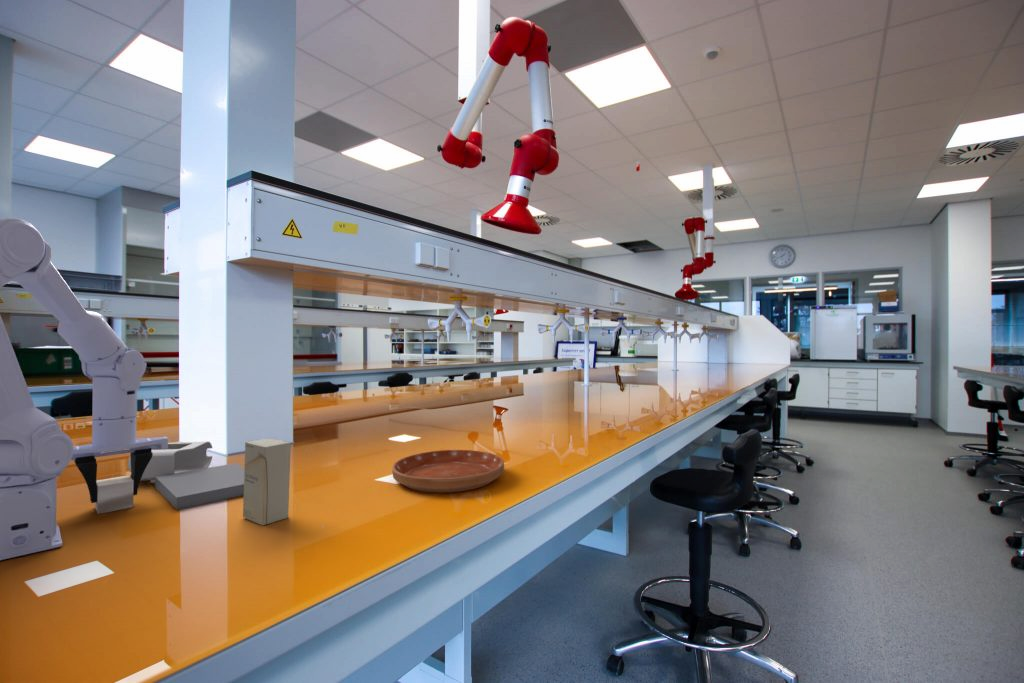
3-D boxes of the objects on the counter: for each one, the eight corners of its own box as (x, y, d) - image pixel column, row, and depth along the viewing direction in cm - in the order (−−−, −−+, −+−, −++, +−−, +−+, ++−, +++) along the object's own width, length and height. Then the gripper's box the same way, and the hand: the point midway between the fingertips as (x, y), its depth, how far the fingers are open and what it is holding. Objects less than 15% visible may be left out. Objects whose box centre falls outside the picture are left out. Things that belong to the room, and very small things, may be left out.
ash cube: (133, 507, 78) (133, 480, 78) (97, 514, 75) (98, 486, 75) (129, 500, 82) (129, 475, 82) (94, 507, 78) (95, 480, 78)
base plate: (266, 490, 88) (266, 479, 88) (176, 509, 77) (176, 497, 77) (235, 472, 100) (235, 463, 100) (154, 486, 90) (155, 476, 90)
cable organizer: (118, 453, 90) (186, 450, 92) (155, 439, 102) (214, 437, 104) (118, 487, 90) (186, 484, 92) (155, 469, 102) (214, 467, 104)
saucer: (458, 505, 80) (458, 484, 80) (367, 485, 92) (367, 466, 92) (524, 474, 99) (524, 457, 100) (442, 460, 111) (442, 445, 111)
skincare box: (242, 518, 73) (242, 441, 74) (269, 509, 77) (269, 437, 77) (263, 526, 70) (264, 446, 70) (291, 517, 74) (291, 441, 74)
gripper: (162, 410, 87) (162, 483, 86) (53, 419, 76) (52, 502, 76) (171, 414, 82) (170, 491, 82) (56, 424, 71) (55, 513, 71)
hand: (114, 497), depth 78 cm, fingers closed on ash cube, 4 cm apart
